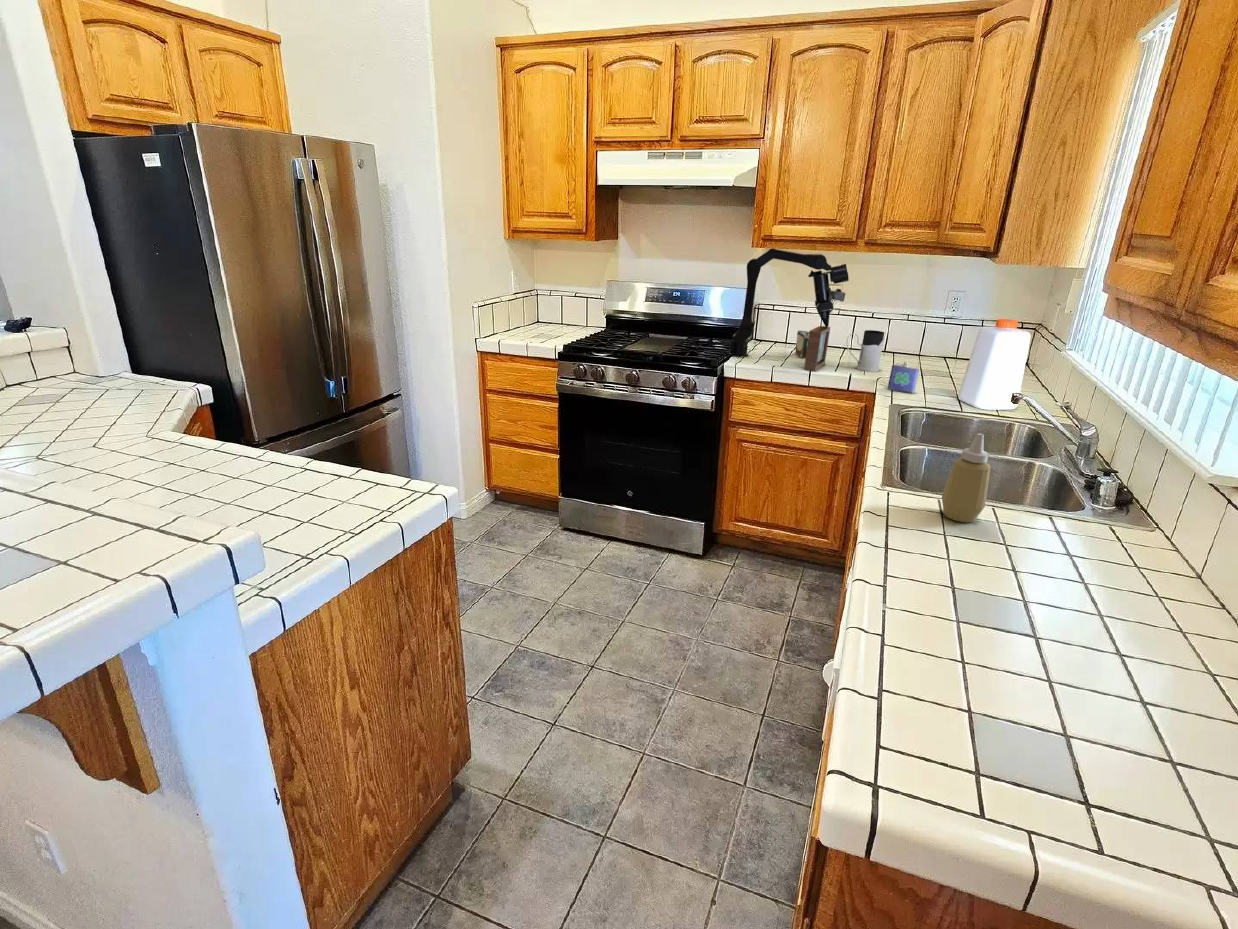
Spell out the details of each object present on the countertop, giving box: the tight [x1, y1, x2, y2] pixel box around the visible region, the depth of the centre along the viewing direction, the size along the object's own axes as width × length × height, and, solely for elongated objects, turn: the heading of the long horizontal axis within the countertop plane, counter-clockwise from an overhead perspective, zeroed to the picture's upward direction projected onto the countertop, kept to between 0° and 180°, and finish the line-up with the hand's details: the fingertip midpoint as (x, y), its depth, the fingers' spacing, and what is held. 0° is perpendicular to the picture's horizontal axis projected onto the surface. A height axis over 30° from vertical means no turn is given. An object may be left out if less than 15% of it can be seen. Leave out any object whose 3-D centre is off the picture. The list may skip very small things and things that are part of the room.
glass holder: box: [846, 329, 885, 373], centre depth 260 cm, size 9×14×15 cm, turn 77°
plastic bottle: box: [957, 318, 1032, 411], centre depth 213 cm, size 15×15×28 cm
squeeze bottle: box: [941, 432, 991, 523], centre depth 130 cm, size 8×8×18 cm
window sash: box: [802, 338, 808, 357], centre depth 257 cm, size 6×4×11 cm
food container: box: [794, 329, 810, 359], centre depth 280 cm, size 12×6×10 cm, turn 179°
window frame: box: [803, 325, 831, 372], centre depth 259 cm, size 15×4×15 cm, turn 149°
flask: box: [887, 360, 920, 394], centre depth 228 cm, size 9×3×11 cm, turn 51°
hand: (826, 324), depth 265 cm, fingers open, 9 cm apart
